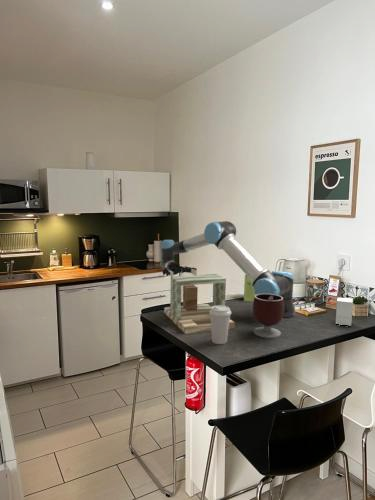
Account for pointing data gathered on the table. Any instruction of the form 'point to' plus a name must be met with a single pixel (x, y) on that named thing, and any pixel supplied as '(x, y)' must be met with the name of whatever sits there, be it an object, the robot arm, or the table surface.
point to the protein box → (248, 290)
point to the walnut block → (190, 297)
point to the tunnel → (201, 317)
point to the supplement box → (344, 311)
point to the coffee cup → (219, 323)
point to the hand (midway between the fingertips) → (184, 273)
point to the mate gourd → (268, 314)
